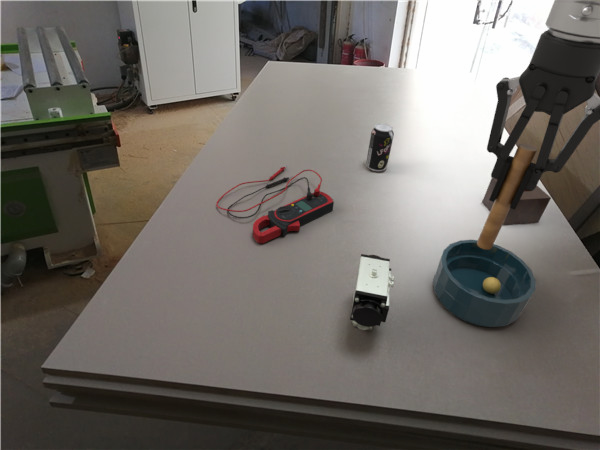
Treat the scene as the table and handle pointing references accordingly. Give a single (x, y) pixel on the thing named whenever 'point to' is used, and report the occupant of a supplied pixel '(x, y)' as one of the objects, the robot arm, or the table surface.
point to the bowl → (469, 283)
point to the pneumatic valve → (371, 292)
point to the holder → (522, 205)
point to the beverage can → (379, 147)
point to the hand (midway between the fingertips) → (504, 200)
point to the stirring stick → (506, 195)
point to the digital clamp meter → (287, 210)
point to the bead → (491, 285)
